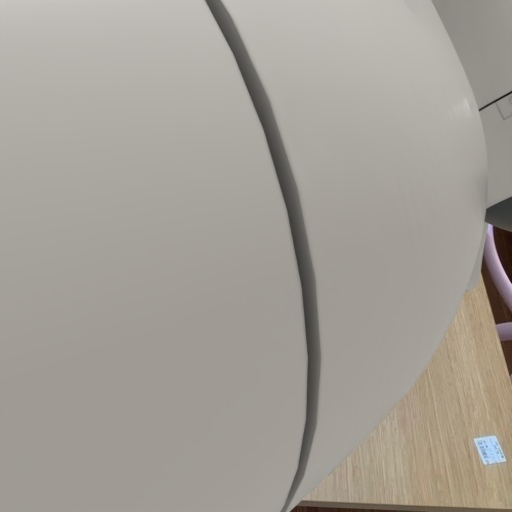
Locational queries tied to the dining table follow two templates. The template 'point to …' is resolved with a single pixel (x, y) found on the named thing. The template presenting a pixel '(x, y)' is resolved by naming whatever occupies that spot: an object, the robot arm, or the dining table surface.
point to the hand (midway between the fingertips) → (302, 245)
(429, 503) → the dining table surface
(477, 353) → the dining table surface
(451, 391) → the dining table surface
